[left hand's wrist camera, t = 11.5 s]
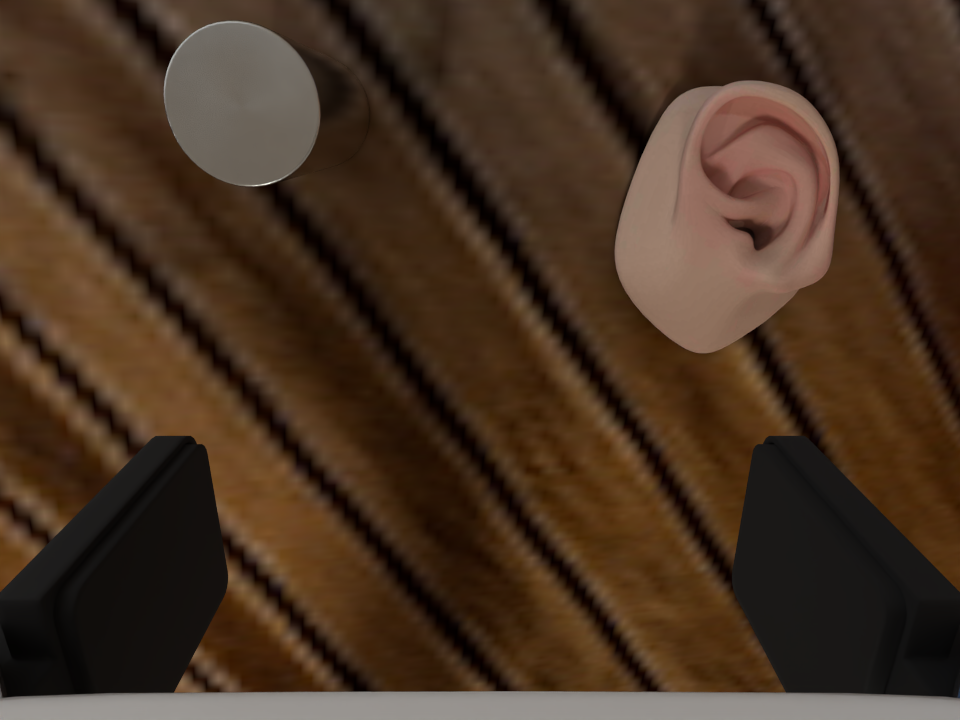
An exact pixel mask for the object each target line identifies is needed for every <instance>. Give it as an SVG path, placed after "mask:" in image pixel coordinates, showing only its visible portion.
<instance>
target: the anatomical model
mask: <svg viewBox="0 0 960 720" xmlns="http://www.w3.org/2000/svg"><path fill="white" fill-rule="evenodd" d="M839 182H840V181H839V160H838V154H837V149H836V145H835V142H834V140H833V137H832V134H831V132H830V130H829V128H828V126H827V125H826V123H825V121H824V120H823V118H822V117H821V115H820V114H819V113H818V111H817V110H816V109H815V108H814V107H813V105H812V104H811V103H810V102H809V101H808V100H806V99H805V98H804V97H803V96H801V95H800V94H798V93H797V92H795V91H793V90H791V89H789V88H786V87H784V86H781V85H777V84H774V83H769V82H763V81H748V80H747V81H738V82H733V83H730V84H727V85H725V86H707V87H699V88H694V89H692V90H689V91H687V92H685V93H683V94H682V95H680V96H678V97H677V98H676V99H675V100H674V101H673V102H672V103H671V104H670V105H669V106H668V108H667V109H666V110H665V112H664V113H663V115H662V117H661V118H660V120H659V122H658V124H657V125H656V127H655V129H654V131H653V132H652V134H651V137H650V139H649V141H648V143H647V145H646V148H645V150H644V152H643V154H642V157H641V159H640V161H639V164H638V166H637V169H636V172H635V174H634V177H633V180H632V182H631V185H630V188H629V191H628V194H627V197H626V200H625V203H624V207H623V210H622V213H621V217H620V221H619V225H618V230H617V234H616V241H615V263H616V269H617V273H618V276H619V279H620V281H621V283H622V285H623V287H624V289H625V291H626V292H627V294H628V295H629V297H630V299H631V300H632V302H633V303H634V304H635V305H636V306H637V308H638V309H639V310H640V311H641V312H642V314H643V315H644V316H645V317H646V318H647V319H648V320H649V321H650V322H651V323H652V324H653V325H654V326H656V327H657V328H658V329H659V330H660V331H661V332H663V333H664V334H665V335H666V336H667V337H668V338H670V339H671V340H673V341H674V342H676V343H677V344H678V345H680V346H682V347H684V348H685V349H687V350H690V351H693V352H696V353H710V352H714V351H717V350H719V349H722V348H724V347H726V346H728V345H729V344H731V343H733V342H735V341H736V340H738V339H740V338H741V337H743V336H744V335H746V334H747V333H749V332H750V331H752V330H753V329H755V328H756V327H758V326H759V325H761V324H762V323H764V322H765V321H766V320H767V319H768V318H770V317H771V316H772V315H773V314H774V313H776V312H777V311H778V310H779V309H780V308H781V307H782V306H783V305H785V304H786V303H787V302H788V301H789V300H790V299H791V298H792V297H793V296H794V295H795V294H796V292H797V291H798V290H799V289H800V288H803V287H806V286H808V285H811V284H813V283H815V282H817V281H818V280H819V279H821V278H822V277H823V276H824V275H825V273H826V272H827V270H828V268H829V265H830V263H831V258H832V252H833V242H834V232H835V223H836V215H837V206H838V195H839Z"/></svg>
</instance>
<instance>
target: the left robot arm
mask: <svg viewBox="0 0 960 720" xmlns="http://www.w3.org/2000/svg"><path fill="white" fill-rule="evenodd" d="M227 584H228V571H227V565H226V559H225V553H224V548H223V542H222V536H221V530H220V524H219V518H218V513H217V507H216V501H215V495H214V489H213V483H212V478H211V472H210V466H209V460H208V454H207V450H206V448H205V446H204V445H202V444H197V443H196V441H195V439H194V438H193V437H191V436H155V437H154V438H152V439H151V440H150V441H149V442H148V443H147V444H146V445H145V446H144V447H143V448H142V449H141V450H140V451H139V452H138V453H137V454H136V455H135V456H134V457H133V458H132V459H131V460H130V461H129V462H128V463H127V464H126V465H125V466H124V467H123V468H122V469H121V471H120V472H119V473H118V474H117V475H116V476H115V477H114V478H113V479H112V480H111V481H110V482H109V483H108V484H107V485H106V486H105V487H104V488H103V489H102V490H101V491H100V492H99V493H98V494H97V495H96V496H95V497H94V498H93V499H92V500H91V501H90V502H89V503H88V504H87V505H86V506H85V507H84V508H83V509H82V510H81V511H80V512H79V513H78V514H77V515H76V516H75V517H74V518H73V519H72V520H71V521H70V522H69V523H68V524H67V525H66V526H65V527H64V528H63V529H62V530H61V531H60V532H59V533H58V534H57V535H56V536H55V537H54V538H53V539H52V540H51V541H50V542H49V543H48V544H47V545H46V546H45V547H44V549H43V550H42V551H41V552H40V553H39V554H38V555H37V556H36V557H35V558H34V559H33V560H32V561H31V562H30V563H29V564H28V565H27V566H26V567H25V568H24V569H23V570H22V571H21V572H20V573H19V574H18V575H17V576H16V577H15V578H14V579H13V580H12V581H11V582H10V583H9V584H8V585H7V586H6V587H5V588H4V589H3V590H2V591H1V592H0V720H960V592H959V591H958V590H957V589H956V588H955V587H954V586H953V585H952V584H951V583H950V582H949V581H948V580H947V579H946V578H945V577H944V576H943V575H942V574H941V573H940V572H939V571H938V570H937V569H936V568H935V567H934V566H933V565H932V564H931V563H930V562H929V561H928V560H927V559H926V558H925V557H924V556H923V555H922V554H921V553H920V552H919V551H918V550H917V549H916V547H915V546H914V545H913V544H912V543H911V542H910V541H909V540H908V539H907V538H906V537H905V536H904V535H903V534H902V533H901V532H900V531H899V530H898V529H897V528H896V527H895V526H894V525H893V524H892V523H891V522H890V521H889V520H888V519H887V518H886V517H885V516H884V515H883V514H882V513H881V512H880V511H879V510H878V509H877V508H876V507H875V506H874V505H873V504H872V503H871V502H870V501H869V500H868V499H867V498H866V497H865V496H864V495H863V494H862V493H861V492H860V491H859V490H858V489H857V488H856V487H855V486H854V485H853V484H852V483H851V482H850V481H849V480H848V479H847V478H846V477H845V476H844V475H843V474H842V473H841V472H840V471H839V469H838V468H837V467H836V466H835V465H834V464H833V463H832V462H831V461H830V460H829V459H828V458H827V457H826V456H825V455H824V454H823V453H822V452H821V451H820V450H819V449H818V448H817V447H816V446H815V445H814V444H813V443H812V442H811V441H810V440H809V439H808V438H806V437H805V436H769V437H767V438H766V439H765V441H764V443H763V444H758V445H756V446H755V448H754V450H753V454H752V460H751V466H750V472H749V478H748V483H747V489H746V495H745V501H744V507H743V513H742V518H741V524H740V530H739V536H738V542H737V548H736V553H735V559H734V565H733V571H732V584H733V589H734V593H735V595H736V597H737V599H738V601H739V603H740V605H741V607H742V609H743V611H744V613H745V615H746V617H747V618H748V620H749V622H750V624H751V626H752V628H753V630H754V632H755V634H756V636H757V638H758V639H759V641H760V643H761V645H762V647H763V649H764V651H765V653H766V655H767V657H768V659H769V661H770V662H771V664H772V666H773V668H774V670H775V672H776V674H777V676H778V678H779V680H780V682H781V684H782V685H783V687H784V689H785V691H786V693H745V692H229V693H174V691H175V689H176V687H177V685H178V683H179V682H180V680H181V678H182V676H183V674H184V672H185V670H186V668H187V666H188V664H189V662H190V661H191V659H192V657H193V655H194V653H195V651H196V649H197V647H198V645H199V643H200V641H201V639H202V638H203V636H204V634H205V632H206V630H207V628H208V626H209V624H210V622H211V620H212V618H213V616H214V615H215V613H216V611H217V609H218V607H219V605H220V603H221V601H222V599H223V597H224V595H225V593H226V589H227Z"/></svg>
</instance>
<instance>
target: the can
mask: <svg viewBox="0 0 960 720" xmlns="http://www.w3.org/2000/svg"><path fill="white" fill-rule="evenodd" d="M164 104H165V111H166V115H167V119H168V122H169V125H170V127H171V130H172V132H173V134H174V136H175V138H176V140H177V142H178V143H179V145H180V146H181V148H182V149H183V151H184V152H185V153H186V154H187V156H188V157H189V158H190V159H191V160H192V161H193V162H194V163H195V164H196V165H197V166H198V167H200V168H201V169H202V170H204V171H205V172H206V173H208V174H209V175H211V176H213V177H215V178H216V179H219V180H221V181H224V182H226V183H229V184H233V185H236V186H243V187H260V186H267V185H271V184H274V183H278V182H281V181H285V180H288V179H292V178H295V177H299V176H302V175H305V174H309V173H312V172H316V171H319V170H323V169H326V168H330V167H333V166H337V165H339V164H341V163H343V162H345V161H347V160H348V159H349V158H351V157H352V156H353V155H354V154H355V153H356V152H357V151H358V150H359V148H360V147H361V145H362V144H363V142H364V140H365V138H366V135H367V132H368V127H369V120H370V112H369V104H368V100H367V96H366V93H365V91H364V89H363V87H362V85H361V83H360V82H359V80H358V79H357V77H356V76H355V75H354V74H353V73H352V72H351V71H350V70H349V69H348V68H347V67H346V66H345V65H343V64H342V63H340V62H339V61H337V60H335V59H333V58H331V57H328V56H326V55H324V54H322V53H320V52H318V51H315V50H313V49H311V48H309V47H307V46H305V45H302V44H300V43H298V42H296V41H294V40H292V39H289V38H287V37H285V36H283V35H281V34H279V33H276V32H274V31H272V30H270V29H268V28H265V27H263V26H261V25H258V24H255V23H251V22H247V21H240V20H226V21H219V22H215V23H212V24H208V25H206V26H204V27H202V28H200V29H198V30H197V31H195V32H194V33H192V34H191V35H190V36H188V37H187V38H186V39H185V40H184V41H183V42H182V44H181V45H180V46H179V47H178V49H177V50H176V52H175V53H174V55H173V57H172V59H171V61H170V64H169V66H168V69H167V73H166V77H165V84H164Z"/></svg>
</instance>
